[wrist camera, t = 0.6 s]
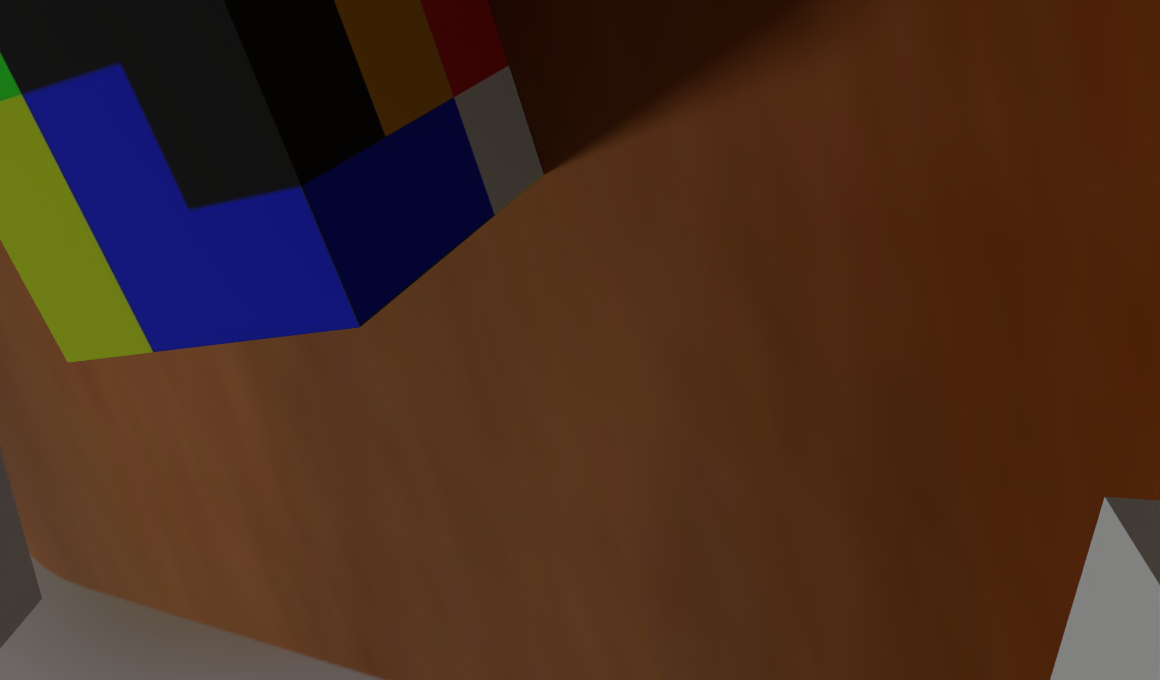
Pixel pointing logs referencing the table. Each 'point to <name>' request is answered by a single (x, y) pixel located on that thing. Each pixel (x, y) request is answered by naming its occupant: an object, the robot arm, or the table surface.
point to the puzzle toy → (245, 161)
